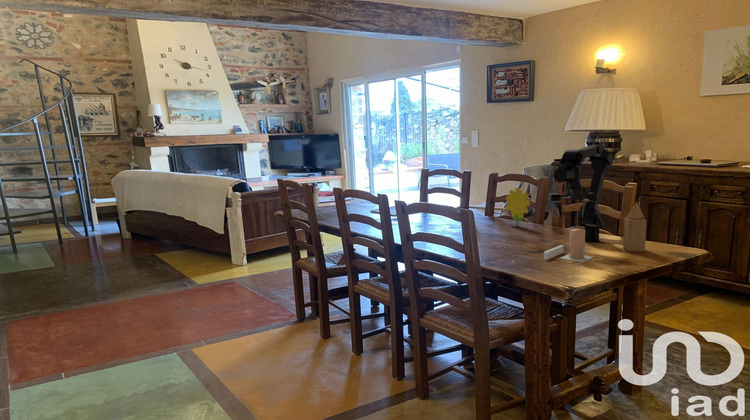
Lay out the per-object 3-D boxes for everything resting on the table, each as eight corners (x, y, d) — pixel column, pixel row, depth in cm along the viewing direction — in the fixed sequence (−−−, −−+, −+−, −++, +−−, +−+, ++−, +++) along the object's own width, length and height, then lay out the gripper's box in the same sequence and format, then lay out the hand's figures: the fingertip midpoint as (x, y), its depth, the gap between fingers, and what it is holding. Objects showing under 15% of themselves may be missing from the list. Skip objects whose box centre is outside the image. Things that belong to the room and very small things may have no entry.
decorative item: (530, 227, 247) (530, 188, 244) (528, 228, 246) (528, 189, 243) (507, 223, 260) (507, 186, 257) (505, 223, 260) (506, 186, 256)
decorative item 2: (645, 252, 194) (648, 202, 191) (627, 252, 195) (629, 202, 192) (639, 248, 200) (642, 200, 197) (622, 248, 202) (624, 200, 198)
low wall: (560, 252, 199) (560, 245, 198) (563, 252, 198) (563, 245, 197) (543, 259, 189) (544, 251, 189) (546, 259, 188) (546, 252, 188)
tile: (570, 254, 195) (570, 253, 195) (593, 257, 189) (593, 256, 189) (559, 258, 189) (559, 257, 189) (582, 262, 183) (582, 261, 183)
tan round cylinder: (576, 254, 192) (577, 227, 191) (587, 258, 187) (588, 230, 186) (565, 256, 191) (566, 229, 189) (576, 259, 186) (577, 231, 184)
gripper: (554, 182, 194) (554, 221, 197) (603, 181, 192) (601, 220, 195) (547, 180, 205) (546, 216, 208) (593, 178, 203) (592, 215, 206)
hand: (571, 217), depth 204 cm, fingers open, 9 cm apart
